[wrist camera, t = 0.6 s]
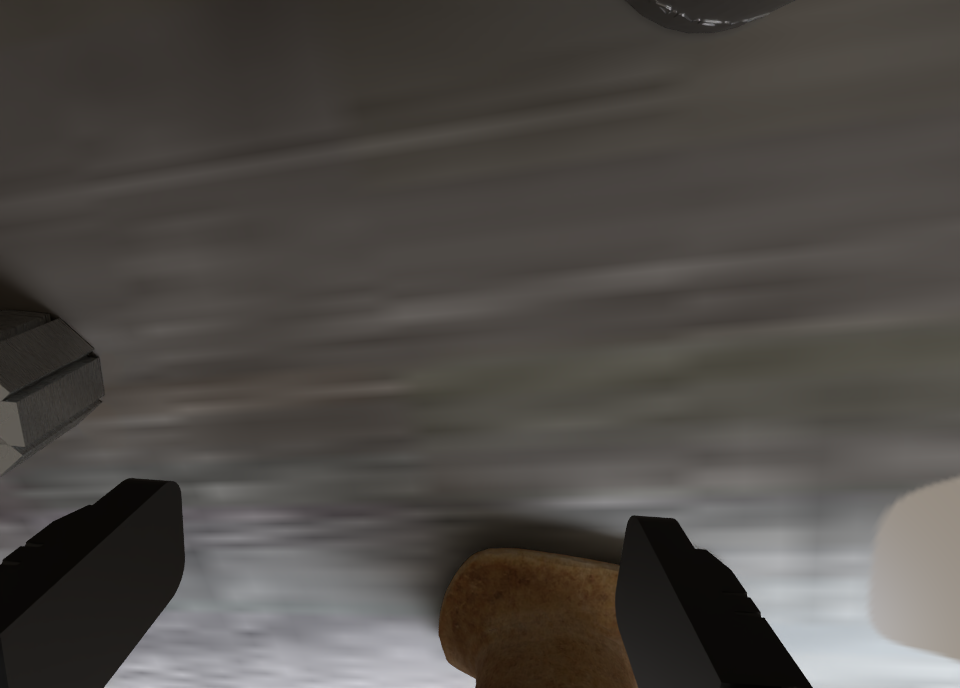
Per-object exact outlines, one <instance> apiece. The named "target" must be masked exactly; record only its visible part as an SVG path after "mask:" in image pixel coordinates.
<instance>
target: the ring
mask: <svg viewBox="0 0 960 688" xmlns="http://www.w3.org/2000/svg"><path fill="white" fill-rule="evenodd" d="M93 350H94V348H92V347H91V346H90V345H89V344H88V343H87V342H86V341H85V340H84V339H82V338H81V337H80V336H79V335H78V334H77V333H76V332H75V331H73V330H72V329H71V328H70V327H69V326H68V325H67V324H66V323H65V322H63V321H62V320H61V319H60V318H59V319H56V320H54V321H51V317H50V314H48V313H38V312H27V311H17V310H3V311H0V477H2V476H3V475H5V474H6V473H7V472H9V471H10V470H12V469H13V468H15V467H16V466H18V465H19V464H21V463H22V462H24V461H25V460H26V459H28V458H29V457H31V456H32V455H34V454H35V453H37V452H38V451H40V450H41V449H43V448H44V447H45V446H47V445H48V444H50V443H51V442H53V441H54V440H56V439H57V438H59V437H60V436H62V435H63V434H64V433H66V432H67V431H69V430H70V429H72V428H73V427H75V426H76V425H77V424H79V423H80V422H81V421H82V420H83V419H84V418H85V417H86V416H87V415H88V414H90V413H91V412H92V411H93V410H94V409H95V408H96V407H97V406H98V405H99V404H101V403H102V402H101V401H100V400H98V399H99V398H101V397H102V396H104V390H103V383H102V375H101V368H100V361H99V357H88V356H87V355H89V354H90V353H91V352H92V351H93Z"/></svg>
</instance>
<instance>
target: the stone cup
mask: <svg viewBox="0 0 960 688" xmlns="http://www.w3.org/2000/svg"><path fill="white" fill-rule="evenodd" d="M619 567H620V565H617V564H612V563H607V562H602V561H596V560H592V559H587V558H581V557H574V556H568V555H563V554H555V553H548V552H542V551H535V550H528V549H521V548H498V549H497V548H489V549H486V550H482V551H479V552H476V553H475V554H473V555H472V556H470V557H469V558H468V559H467V560H466V561H465V562H464V563H463V564H462V566H461V567H460V568H459V570H458V571H457V572H456V574H455V576H454V577H453V579H452V581H451V582H450V584H449V586H448V588H447V590H446V593H445V596H444V599H443V603H442V607H441V611H440V618H439V638H440V641H441V645H442V648H443V651H444V653H445V656H446V659H447V661H448V662H449V663H450V664H451V665H452V666H454V667H455V668H457V669H458V670H460V671H462V672H464V673H466V674H468V675H470V676H471V677H473V678H475V679H476V687H475V688H638V685H637V682H636V679H635V676H634V673H633V670H632V667H631V664H630V661H629V658H628V655H627V653H626V650H625V647H624V644H623V641H622V638H621V635H620V632H619V628H618V624H617V619H616V611H615V592H616V585H617V579H618V573H619Z"/></svg>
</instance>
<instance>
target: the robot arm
mask: <svg viewBox="0 0 960 688" xmlns="http://www.w3.org/2000/svg"><path fill="white" fill-rule="evenodd" d="M626 1H627V2H628V3H629V4H630V5H631V6H632V7H634V8H635V9H636V10H637V11H638V12H639V13H640V14H641V15H642V16H644V17H646V18H648V19H650V20H651V21H653V22H655V23H657V24H659V25H661V26H663V27H665V28H669V29H673V30H677V31H681V32H685V33H715V32H720V31H724V30H728V29H732V28H736V27H739V26H741V25H743V24H745V23H747V22H750V21H753V20H756V19H759V18H762V17H764V16H767V15H769V14H771V12H772V11H774V10H776V9H778V8H780V7H782V6H785V5H787V4H789V3H791V2H793V1H795V0H626ZM184 564H185V551H184V533H183V516H182V498H181V491H180V487H179V485H178V484H177V483H176V482H174V481H163V480H149V479H135V478H129V479H126V480H124V481H123V482H121V483H120V484H119V485H117V486H116V487H115V488H114V489H112V490H111V491H110V492H109V493H107V494H106V495H105V496H104V497H102V498H101V499H100V500H99V501H97V502H96V503H95V504H93V505H88V506H85V507H83V508H81V509H79V510H77V511H75V512H73V513H70V514H68V515H66V516H64V517H62V518H60V519H57V520H55V521H53V522H52V523H51V524H49V525H48V526H47V527H45V528H44V529H43V530H41V531H40V532H39V533H37V534H36V535H35V536H33V537H32V538H31V539H30V540H28V541H27V542H26V545H25V547H24V546H20V547H19V548H18V549H16V550H15V551H14V552H12V553H11V554H10V555H8V556H7V557H6V558H4V559H3V562H2V564H1V565H0V688H104V687H105V685H106V684H107V683H108V681H109V680H110V679H111V678H112V676H113V675H114V674H115V672H116V671H117V670H118V668H119V667H120V666H121V664H122V663H123V662H124V661H125V659H126V658H127V657H128V655H129V654H130V653H131V651H132V650H133V649H134V647H135V646H136V645H137V644H138V642H139V641H140V640H141V638H142V637H143V636H144V634H145V633H146V632H147V630H148V629H149V628H150V627H151V625H152V624H153V623H154V621H155V620H156V619H157V617H158V616H159V615H160V613H161V612H162V611H163V610H164V608H165V607H166V606H167V604H168V603H169V602H170V600H171V599H172V598H173V596H174V595H175V593H176V591H177V589H178V587H179V584H180V582H181V578H182V575H183V571H184ZM615 611H616V619H617V624H618V628H619V632H620V635H621V638H622V641H623V644H624V647H625V650H626V653H627V655H628V658H629V661H630V664H631V667H632V670H633V673H634V676H635V679H636V682H637V685H638V688H813V687H812V686H811V684H810V683H809V682H808V680H807V679H806V677H805V676H804V674H803V673H802V671H801V670H800V669H799V667H798V666H797V664H796V663H795V661H794V660H793V658H792V657H791V656H790V654H789V653H788V651H787V650H786V648H785V647H784V645H783V644H782V643H781V641H780V640H779V638H778V637H777V635H776V634H775V632H774V631H773V630H772V628H771V627H770V625H769V624H768V622H767V621H766V620H765V618H761V612H760V611H759V609H758V608H757V607H756V605H755V604H754V602H753V601H752V599H751V598H749V597H747V592H746V591H745V589H744V588H743V586H742V585H741V583H740V582H739V581H738V579H737V578H736V576H735V575H734V573H733V572H732V570H731V569H729V568H728V567H727V566H726V565H724V564H723V563H722V562H721V561H719V560H718V559H717V558H716V557H714V556H713V555H712V554H711V553H709V552H708V551H707V550H703V549H695V548H694V547H693V545H692V544H691V542H690V540H689V539H688V537H687V536H686V534H685V532H684V531H683V529H682V528H681V526H680V525H679V523H678V522H677V520H675V519H673V518H661V517H647V516H631V517H630V519H629V521H628V523H627V527H626V532H625V538H624V544H623V550H622V556H621V562H620V567H619V573H618V579H617V585H616V592H615Z"/></svg>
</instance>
